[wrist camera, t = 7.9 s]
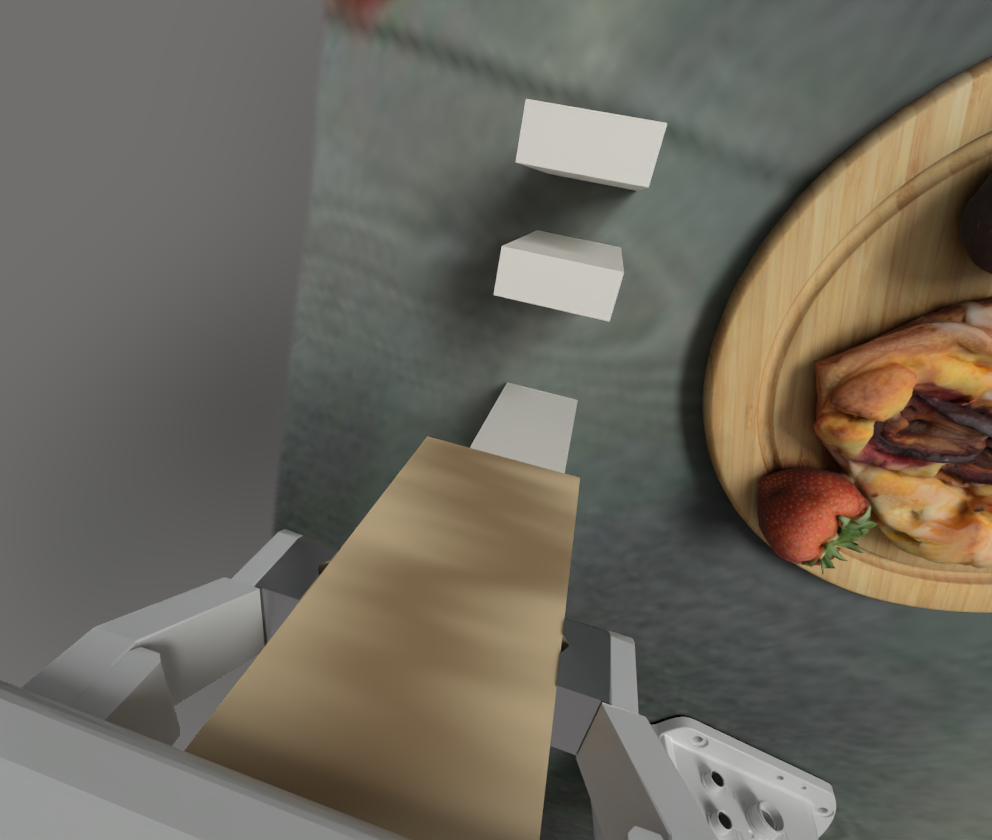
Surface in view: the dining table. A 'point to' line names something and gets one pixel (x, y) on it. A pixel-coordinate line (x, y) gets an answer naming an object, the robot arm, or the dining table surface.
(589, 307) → the domino
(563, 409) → the domino
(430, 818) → the domino
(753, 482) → the wooden plate with food
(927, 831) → the dining table surface
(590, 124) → the domino
